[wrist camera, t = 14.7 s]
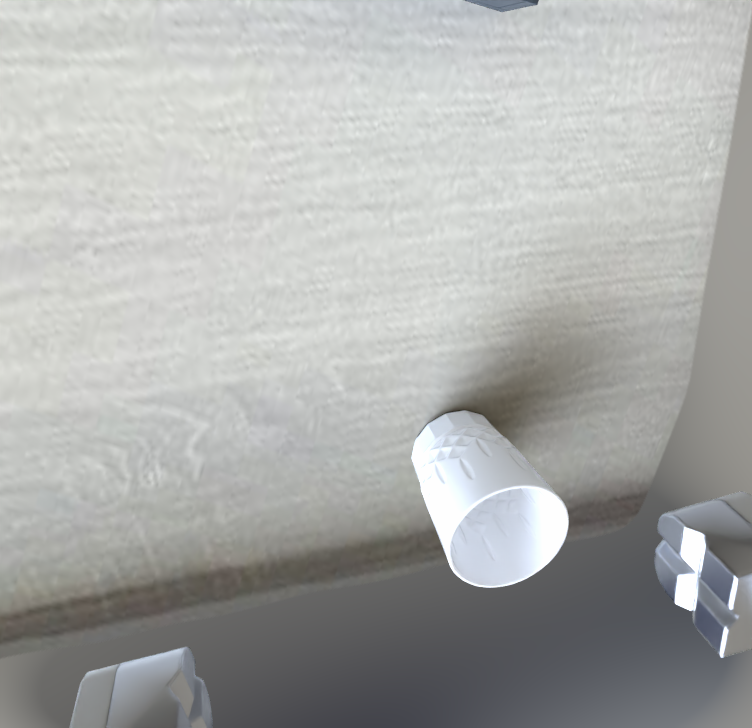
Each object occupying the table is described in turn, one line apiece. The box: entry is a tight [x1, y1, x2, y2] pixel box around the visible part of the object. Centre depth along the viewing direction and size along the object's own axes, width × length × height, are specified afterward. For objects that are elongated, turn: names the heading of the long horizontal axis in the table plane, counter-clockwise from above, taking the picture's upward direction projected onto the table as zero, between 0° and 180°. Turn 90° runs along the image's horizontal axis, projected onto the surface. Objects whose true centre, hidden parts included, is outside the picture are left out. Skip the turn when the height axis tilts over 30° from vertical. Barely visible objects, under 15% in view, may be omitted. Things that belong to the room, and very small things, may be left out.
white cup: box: [412, 410, 569, 587], centre depth 41 cm, size 8×8×10 cm
